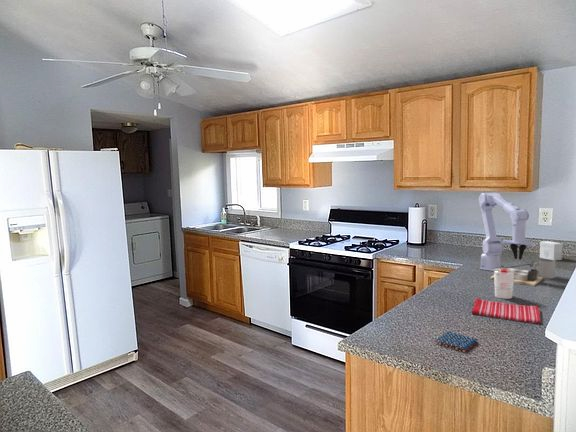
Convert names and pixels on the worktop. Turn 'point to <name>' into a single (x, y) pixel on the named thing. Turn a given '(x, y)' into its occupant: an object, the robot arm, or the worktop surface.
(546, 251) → the skincare box
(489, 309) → the dish towel
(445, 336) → the woven mat
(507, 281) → the canister
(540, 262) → the cup
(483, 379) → the worktop surface
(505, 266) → the retention strap
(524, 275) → the board
